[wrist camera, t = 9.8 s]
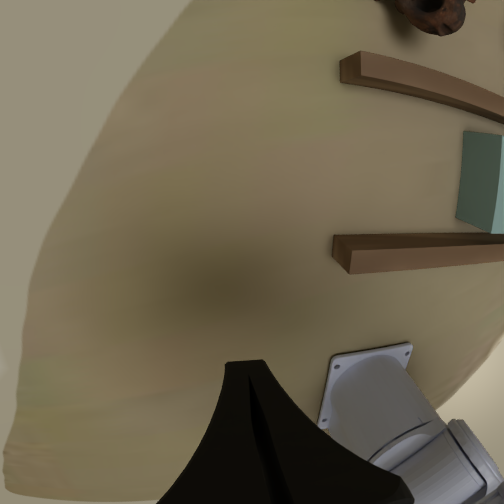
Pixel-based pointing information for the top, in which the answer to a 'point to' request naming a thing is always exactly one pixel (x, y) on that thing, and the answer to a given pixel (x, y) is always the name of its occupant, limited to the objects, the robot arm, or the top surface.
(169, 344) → the top surface
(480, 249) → the guide channel
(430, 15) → the pottery mug
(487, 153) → the block
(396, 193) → the top surface
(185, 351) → the top surface
